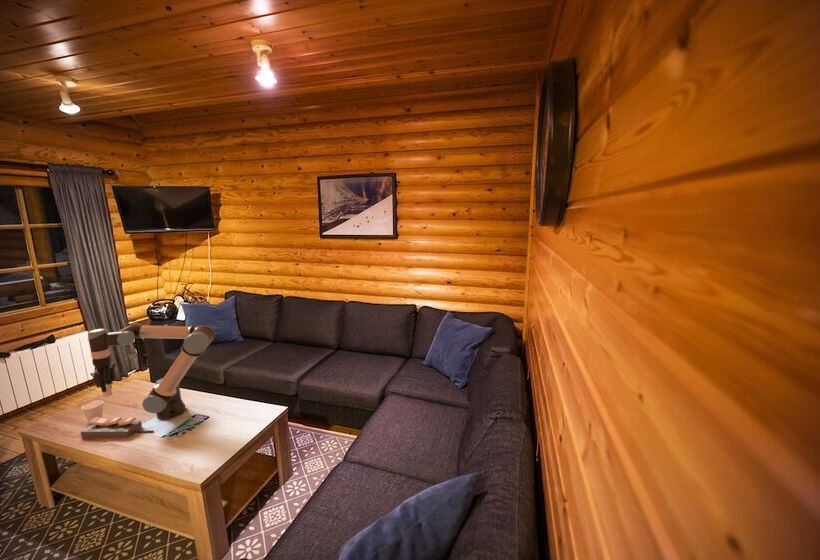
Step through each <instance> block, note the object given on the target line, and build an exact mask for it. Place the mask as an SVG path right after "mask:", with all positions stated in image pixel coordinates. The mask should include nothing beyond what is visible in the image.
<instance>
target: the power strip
mask: <svg viewBox="0 0 820 560" xmlns="http://www.w3.org/2000/svg"><path fill="white" fill-rule="evenodd" d="M119 422H120V421H119ZM119 422H118V423H119ZM118 423H116V424H111V425H106V426H105V425H103V426H101V425H96V424H90V425H89V426H87V427H86V428H84V429H82V430H81V431H80V436H81V439H128V438H130V437H131V436H133V435H134V434H135V433H154V432H155V431H154V430H141V429H142V427H143V425H142V420H134V421H133V422H132V423H130V424H125V425H120V426H119V425H118Z"/></svg>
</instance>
